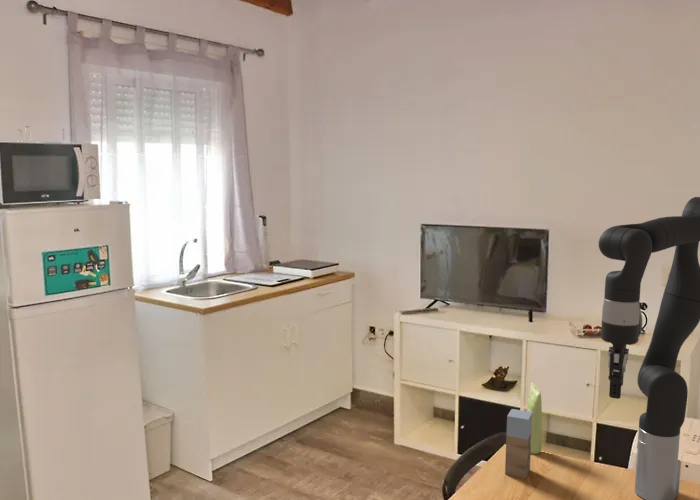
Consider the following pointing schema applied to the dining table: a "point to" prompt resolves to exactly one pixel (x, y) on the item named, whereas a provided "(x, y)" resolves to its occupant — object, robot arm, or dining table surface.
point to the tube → (535, 418)
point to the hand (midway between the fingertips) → (616, 391)
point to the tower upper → (518, 447)
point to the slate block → (519, 424)
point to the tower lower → (517, 466)
